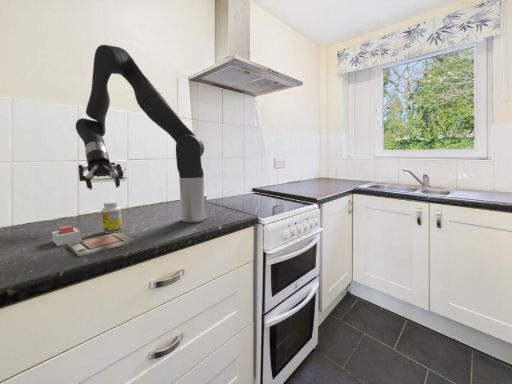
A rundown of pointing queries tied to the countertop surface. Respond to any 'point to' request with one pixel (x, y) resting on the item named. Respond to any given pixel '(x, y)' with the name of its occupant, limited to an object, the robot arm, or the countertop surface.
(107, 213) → the supplement bottle
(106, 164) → the robot arm
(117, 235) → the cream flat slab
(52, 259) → the countertop surface
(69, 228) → the button
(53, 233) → the button housing
